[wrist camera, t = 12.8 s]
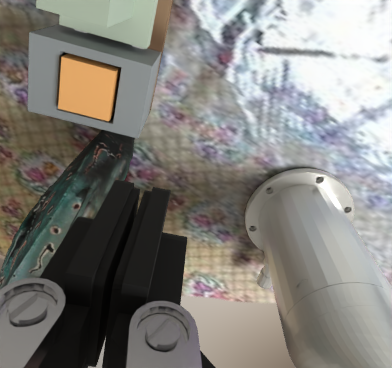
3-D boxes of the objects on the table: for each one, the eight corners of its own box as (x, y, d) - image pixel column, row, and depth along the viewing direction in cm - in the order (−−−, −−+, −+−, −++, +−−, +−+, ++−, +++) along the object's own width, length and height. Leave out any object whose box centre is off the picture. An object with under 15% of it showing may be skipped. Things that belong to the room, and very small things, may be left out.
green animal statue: (76, 251, 45) (-3, 416, 28) (29, 228, 43) (-87, 390, 26) (153, 134, 37) (108, 267, 19) (99, 101, 35) (-4, 213, 18)
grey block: (148, 114, 34) (138, 138, 29) (54, 89, 33) (25, 110, 28) (161, 52, 31) (152, 66, 26) (58, 23, 30) (26, 31, 25)
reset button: (121, 103, 32) (108, 121, 27) (78, 91, 31) (58, 108, 27) (128, 59, 30) (115, 71, 25) (82, 46, 29) (61, 56, 25)
